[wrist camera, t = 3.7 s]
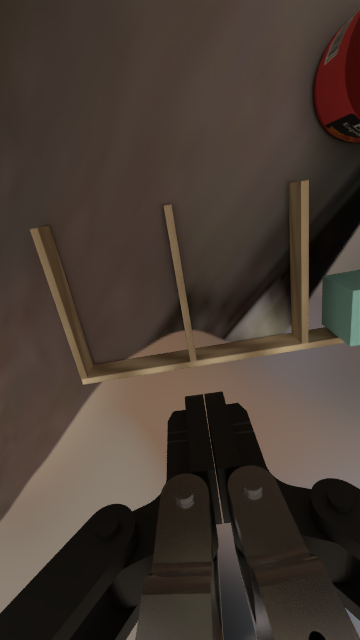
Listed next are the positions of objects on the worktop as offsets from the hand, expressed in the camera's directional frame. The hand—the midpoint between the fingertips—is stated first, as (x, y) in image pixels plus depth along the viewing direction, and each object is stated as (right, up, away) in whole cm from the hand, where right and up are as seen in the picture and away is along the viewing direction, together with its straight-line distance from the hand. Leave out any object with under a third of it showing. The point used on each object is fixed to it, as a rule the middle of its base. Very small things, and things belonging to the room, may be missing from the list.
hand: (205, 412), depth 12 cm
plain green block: (+15, +6, +17) cm, 24 cm away
